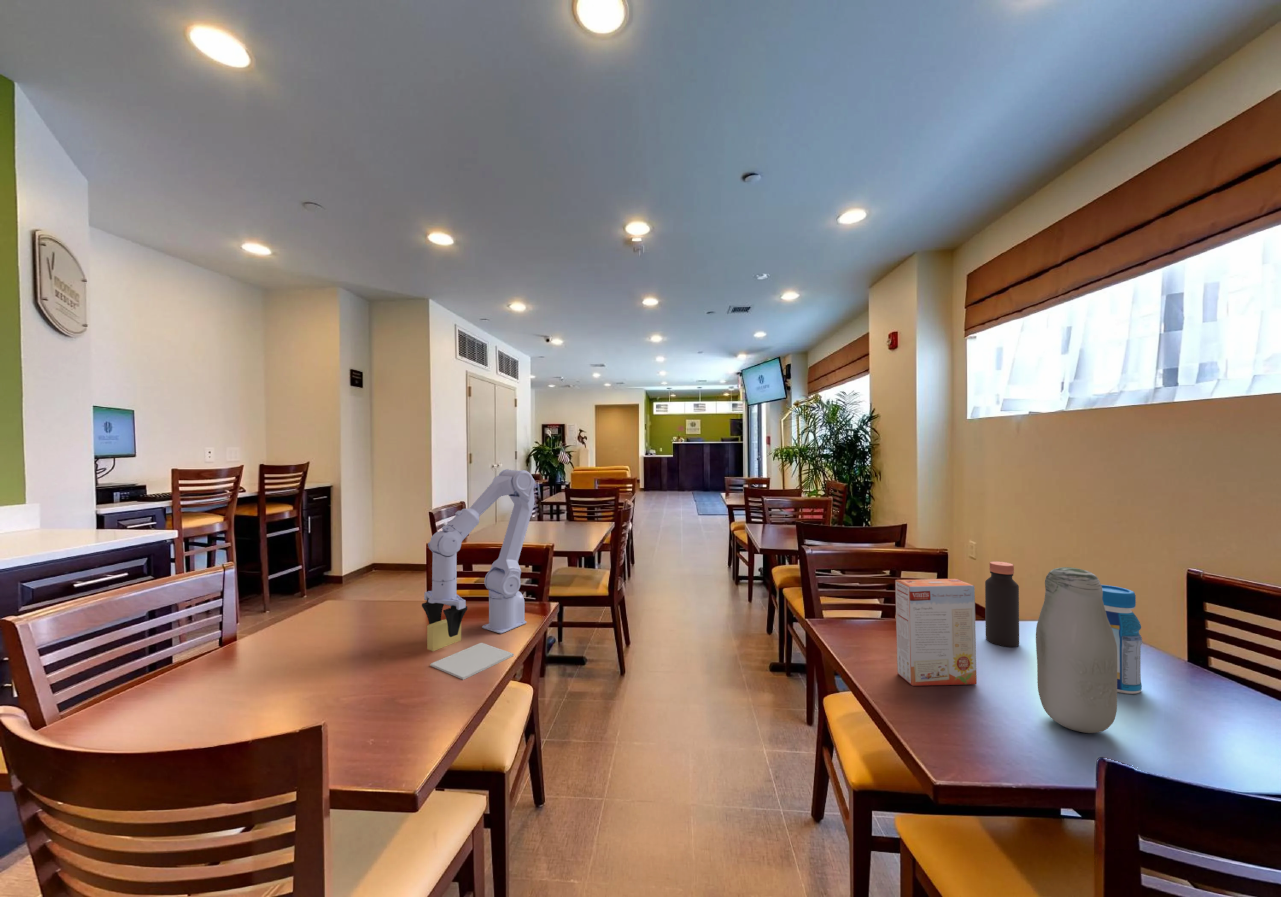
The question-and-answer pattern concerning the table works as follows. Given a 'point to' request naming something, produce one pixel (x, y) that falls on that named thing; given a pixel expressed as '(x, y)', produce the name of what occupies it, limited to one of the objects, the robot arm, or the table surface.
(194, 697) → the table surface
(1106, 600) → the beverage bottle
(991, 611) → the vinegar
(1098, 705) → the grey jar
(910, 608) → the cracker box
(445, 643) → the block
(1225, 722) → the table surface
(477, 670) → the mat
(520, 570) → the robot arm
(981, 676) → the table surface
